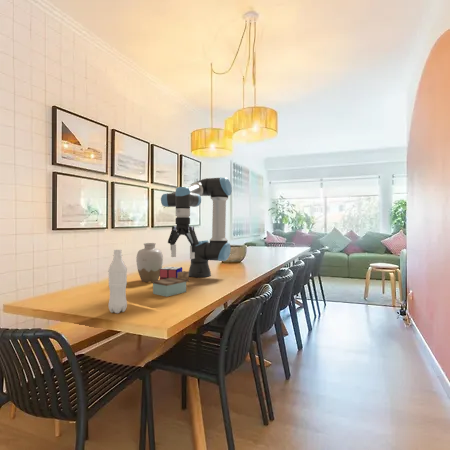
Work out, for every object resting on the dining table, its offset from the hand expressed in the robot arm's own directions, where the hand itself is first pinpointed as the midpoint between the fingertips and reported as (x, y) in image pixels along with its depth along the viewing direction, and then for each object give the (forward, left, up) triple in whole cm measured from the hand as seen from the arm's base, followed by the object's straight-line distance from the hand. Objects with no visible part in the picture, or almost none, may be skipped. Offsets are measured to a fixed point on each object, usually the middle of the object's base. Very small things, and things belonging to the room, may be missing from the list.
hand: (182, 257), depth 170 cm
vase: (-9, -37, -18) cm, 42 cm away
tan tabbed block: (+7, 0, -13) cm, 14 cm away
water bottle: (+43, +6, -18) cm, 47 cm away
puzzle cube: (-7, -16, -18) cm, 25 cm away
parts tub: (+9, 0, -17) cm, 20 cm away
